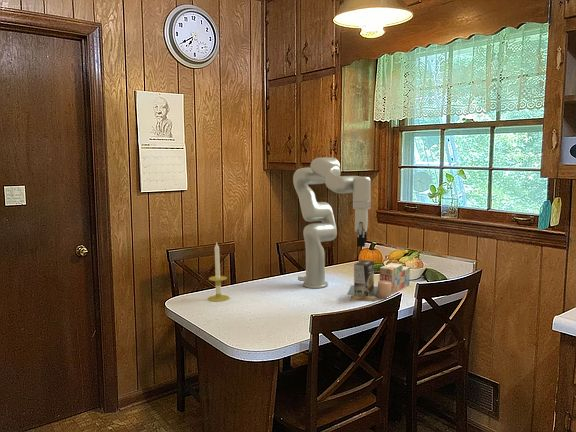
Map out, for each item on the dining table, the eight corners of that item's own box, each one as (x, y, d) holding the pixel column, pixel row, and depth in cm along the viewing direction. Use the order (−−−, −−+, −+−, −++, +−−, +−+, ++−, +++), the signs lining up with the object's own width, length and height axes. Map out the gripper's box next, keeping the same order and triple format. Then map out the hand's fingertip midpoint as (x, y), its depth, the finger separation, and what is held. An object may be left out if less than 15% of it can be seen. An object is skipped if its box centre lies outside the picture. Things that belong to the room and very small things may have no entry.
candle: (214, 294, 231) (212, 239, 228) (233, 296, 228) (231, 240, 225) (203, 300, 222) (201, 243, 219) (223, 302, 219) (221, 244, 215)
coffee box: (366, 300, 218) (366, 265, 215) (353, 298, 221) (353, 264, 219) (374, 294, 226) (374, 260, 223) (361, 292, 229) (361, 259, 226)
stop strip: (350, 300, 218) (350, 296, 218) (350, 299, 220) (350, 295, 219) (375, 301, 216) (375, 297, 216) (375, 300, 217) (375, 296, 217)
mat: (347, 294, 227) (347, 294, 227) (351, 286, 242) (351, 285, 242) (381, 296, 223) (381, 295, 223) (383, 287, 239) (383, 286, 238)
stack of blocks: (397, 283, 246) (398, 259, 244) (409, 285, 242) (410, 261, 240) (378, 292, 229) (379, 267, 227) (391, 294, 225) (392, 269, 223)
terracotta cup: (376, 298, 220) (377, 283, 218) (377, 293, 226) (378, 279, 224) (390, 299, 218) (391, 285, 217) (390, 295, 224) (391, 280, 223)
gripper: (355, 203, 217) (355, 241, 219) (350, 207, 200) (351, 248, 202) (372, 203, 215) (372, 241, 217) (369, 207, 198) (369, 248, 200)
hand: (362, 244), depth 210 cm, fingers open, 9 cm apart
